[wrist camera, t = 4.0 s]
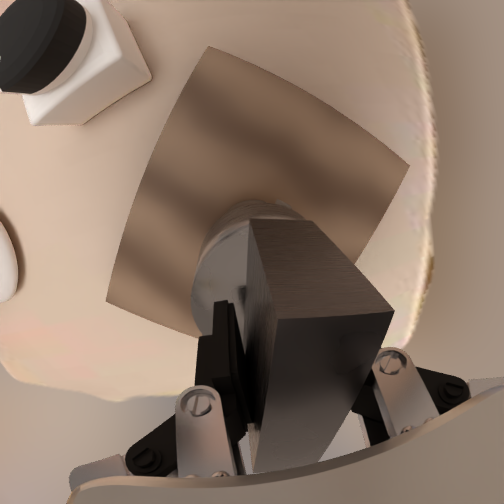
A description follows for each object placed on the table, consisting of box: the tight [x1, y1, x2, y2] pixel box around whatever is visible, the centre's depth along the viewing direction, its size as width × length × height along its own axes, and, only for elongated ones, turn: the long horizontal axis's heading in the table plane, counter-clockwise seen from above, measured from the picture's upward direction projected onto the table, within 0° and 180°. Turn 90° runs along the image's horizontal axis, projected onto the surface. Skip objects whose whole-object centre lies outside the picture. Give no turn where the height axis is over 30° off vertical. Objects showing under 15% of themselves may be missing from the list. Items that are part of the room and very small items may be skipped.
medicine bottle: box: [0, 0, 152, 126], centre depth 10 cm, size 7×7×12 cm
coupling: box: [191, 203, 395, 473], centre depth 11 cm, size 10×7×10 cm
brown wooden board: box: [106, 46, 410, 339], centre depth 19 cm, size 22×18×7 cm
